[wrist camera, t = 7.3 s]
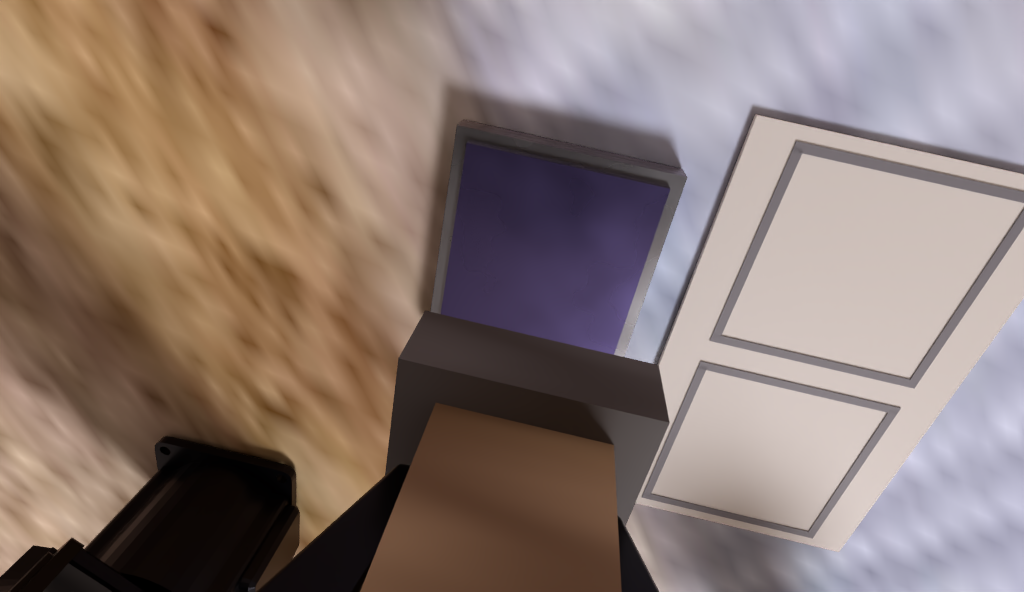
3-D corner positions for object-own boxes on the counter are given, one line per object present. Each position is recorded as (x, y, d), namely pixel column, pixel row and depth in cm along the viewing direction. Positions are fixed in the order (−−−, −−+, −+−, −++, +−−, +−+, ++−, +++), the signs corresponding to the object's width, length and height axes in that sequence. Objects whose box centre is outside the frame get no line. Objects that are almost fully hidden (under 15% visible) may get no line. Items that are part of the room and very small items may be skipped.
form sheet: (607, 493, 24) (607, 497, 23) (755, 114, 16) (757, 115, 16) (837, 548, 23) (839, 553, 23) (1094, 189, 16) (1102, 192, 16)
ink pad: (432, 331, 21) (424, 348, 20) (463, 119, 17) (455, 126, 16) (611, 373, 21) (612, 392, 20) (682, 168, 17) (688, 178, 16)
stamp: (402, 478, 12) (257, 834, 7) (425, 310, 10) (243, 634, 5) (595, 525, 12) (598, 922, 7) (658, 364, 10) (733, 755, 5)
